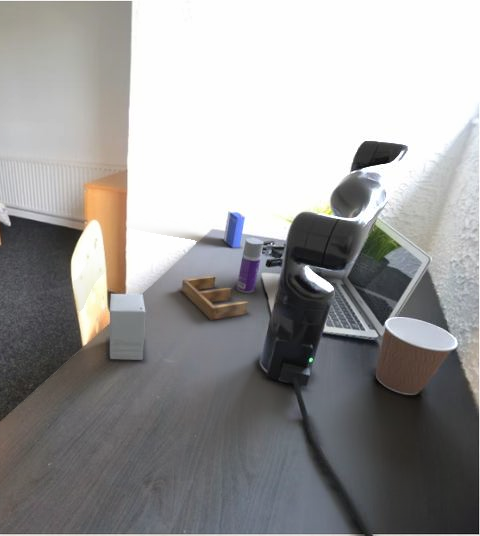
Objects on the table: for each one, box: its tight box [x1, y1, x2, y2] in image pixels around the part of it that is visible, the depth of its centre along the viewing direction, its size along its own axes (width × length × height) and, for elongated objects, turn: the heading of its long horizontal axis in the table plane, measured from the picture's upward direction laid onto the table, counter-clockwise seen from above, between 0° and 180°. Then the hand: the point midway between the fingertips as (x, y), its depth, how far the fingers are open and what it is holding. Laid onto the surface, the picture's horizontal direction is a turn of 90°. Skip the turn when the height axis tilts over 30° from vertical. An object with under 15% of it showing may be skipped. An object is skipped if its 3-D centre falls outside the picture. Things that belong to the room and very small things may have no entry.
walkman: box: [223, 210, 246, 249], centre depth 137 cm, size 8×3×12 cm, turn 3°
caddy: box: [181, 275, 249, 321], centre depth 102 cm, size 10×16×4 cm, turn 13°
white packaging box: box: [109, 293, 146, 361], centre depth 82 cm, size 7×7×13 cm
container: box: [236, 237, 264, 294], centre depth 105 cm, size 5×5×15 cm
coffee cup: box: [375, 316, 459, 396], centre depth 71 cm, size 10×10×12 cm
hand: (256, 257), depth 105 cm, fingers open, 8 cm apart
